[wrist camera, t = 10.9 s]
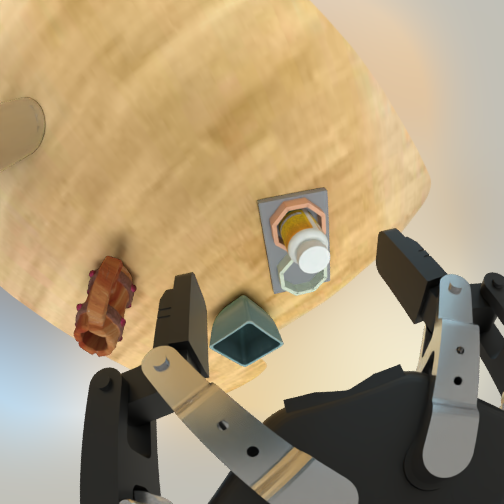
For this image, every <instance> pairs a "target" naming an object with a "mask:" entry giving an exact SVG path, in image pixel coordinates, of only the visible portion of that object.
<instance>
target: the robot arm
mask: <svg viewBox="0 0 504 504" xmlns="http://www.w3.org/2000/svg"><path fill="white" fill-rule="evenodd" d="M44 129H45V120H44V114H43V112H42V109H41V107H40V106H39V104H38V103H37V102H36V101H35V100H33V99H31V98H27V97H25V98H19V99H14V100H10V101H6V102H2V103H0V172H2V171H4V170H5V169H7V168H8V167H10V166H12V165H13V164H15V163H17V162H18V161H20V160H22V159H23V158H25V157H27V156H28V155H30V154H32V153H33V152H34V151H35V150H36V149H37V148H38V147H39V145H40V143H41V141H42V138H43V135H44ZM376 266H377V270H378V272H379V274H380V275H381V277H382V278H383V279H384V281H385V282H386V284H387V285H388V286H389V287H390V289H391V291H392V292H393V293H394V295H395V296H396V298H397V299H398V301H399V302H400V304H401V305H402V307H403V308H404V310H405V311H406V313H407V314H408V316H409V317H410V319H411V320H412V322H413V323H414V324H417V323H419V322H422V321H424V322H425V327H424V331H423V338H422V345H421V351H420V357H419V363H418V366H417V369H416V372H415V371H403V370H402V368H401V366H400V364H399V365H397V366H394V367H392V368H389V369H386V370H384V371H381V372H378V373H375V374H373V375H372V376H370V377H369V378H367V379H366V380H364V381H363V382H361V383H359V384H358V385H356V386H354V387H353V388H351V389H349V390H346V391H335V392H314V393H310V394H307V395H303V396H298V397H295V398H290V399H286V400H284V404H285V408H283V409H281V410H279V411H277V412H276V413H274V414H272V415H271V416H270V417H268V418H267V419H266V420H265V421H264V422H263V423H261V422H260V421H259V420H257V419H256V418H255V417H254V416H252V415H251V414H250V413H249V412H248V411H246V410H245V409H244V408H243V407H241V406H240V405H239V404H238V403H237V402H236V401H234V400H233V399H232V398H231V397H230V396H229V395H228V394H226V393H225V392H224V391H223V390H222V389H221V388H220V387H218V386H217V385H216V384H214V383H209V382H208V381H207V380H206V379H205V378H209V365H208V338H207V310H206V305H205V301H204V298H203V295H202V293H201V290H200V287H199V285H198V282H197V279H196V277H195V274H194V273H193V272H191V273H186V274H182V275H177V276H175V280H174V288H173V289H170V290H166V291H165V293H164V294H163V296H162V297H161V299H160V303H159V309H158V310H159V311H158V316H157V318H158V319H157V322H156V329H155V336H154V344H153V349H152V350H150V351H149V352H148V353H147V354H146V355H145V357H144V358H143V360H142V365H140V366H138V367H136V368H134V369H132V370H129V371H127V372H124V373H122V374H121V373H120V372H119V371H118V370H116V369H114V368H104V369H102V370H100V371H98V372H97V373H96V374H95V375H94V376H93V378H92V380H91V382H90V385H89V392H88V398H87V405H86V413H85V421H84V430H83V440H82V453H81V473H80V504H173V503H172V502H171V501H169V500H168V499H166V498H163V497H161V494H160V484H159V470H158V454H157V431H156V430H157V429H156V419H158V418H161V417H163V416H166V415H168V414H171V413H173V412H175V413H176V415H177V416H178V417H179V418H180V419H181V420H182V422H183V423H184V424H185V425H186V426H187V427H188V428H189V429H190V430H191V431H192V432H193V433H194V434H195V436H196V437H197V438H198V439H199V440H200V441H201V442H202V443H203V444H204V445H205V446H206V447H207V448H208V449H209V450H210V451H211V452H212V453H213V454H214V455H215V456H216V457H217V458H218V459H219V460H220V461H221V462H222V463H224V464H225V465H226V466H227V467H228V468H229V469H230V470H231V471H230V472H229V474H228V475H227V477H226V478H225V480H224V481H223V483H222V484H221V486H220V487H219V488H218V490H217V491H216V493H215V494H214V496H213V497H212V499H211V500H210V501H209V503H208V504H504V338H503V336H502V335H501V333H500V332H499V330H498V329H497V327H496V326H495V324H494V322H495V320H496V318H497V316H498V318H499V319H500V321H501V322H502V324H503V325H504V277H503V276H502V275H500V274H498V273H493V272H492V273H488V274H486V275H485V277H484V280H483V282H482V283H479V284H469V283H468V282H467V281H466V280H465V279H464V278H462V277H461V276H458V275H454V274H449V275H448V274H447V273H446V272H445V271H444V270H443V269H442V268H441V267H440V265H439V264H438V263H437V262H436V261H435V260H434V259H433V258H432V257H431V256H429V254H428V253H427V252H426V251H425V250H424V249H423V248H422V247H421V246H420V245H419V244H418V243H417V242H416V241H414V240H412V239H410V238H409V237H404V235H402V233H401V232H400V231H399V230H397V229H396V228H393V229H389V230H385V231H381V232H379V235H378V244H377V255H376ZM480 357H481V359H482V361H483V362H484V364H485V366H486V368H487V369H488V371H489V373H490V375H491V377H492V379H493V381H494V383H495V385H496V386H497V389H498V391H499V392H500V394H501V404H502V405H501V406H500V408H498V407H496V406H494V405H491V404H489V403H487V402H485V401H483V400H480V399H478V398H477V395H478V383H479V362H480Z"/></svg>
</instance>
